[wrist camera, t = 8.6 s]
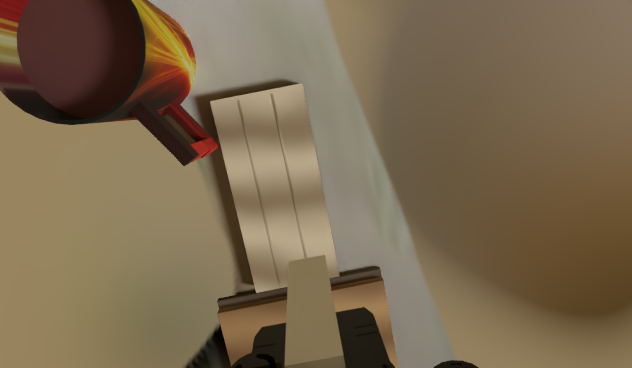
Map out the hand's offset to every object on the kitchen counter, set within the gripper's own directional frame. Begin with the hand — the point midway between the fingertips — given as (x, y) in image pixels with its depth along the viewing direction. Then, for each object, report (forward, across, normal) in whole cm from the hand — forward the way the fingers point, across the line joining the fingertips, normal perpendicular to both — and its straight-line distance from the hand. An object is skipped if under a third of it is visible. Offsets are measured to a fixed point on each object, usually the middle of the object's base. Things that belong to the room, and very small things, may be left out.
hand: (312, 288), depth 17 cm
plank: (+22, -2, -1) cm, 22 cm away
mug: (+23, -10, +12) cm, 27 cm away
